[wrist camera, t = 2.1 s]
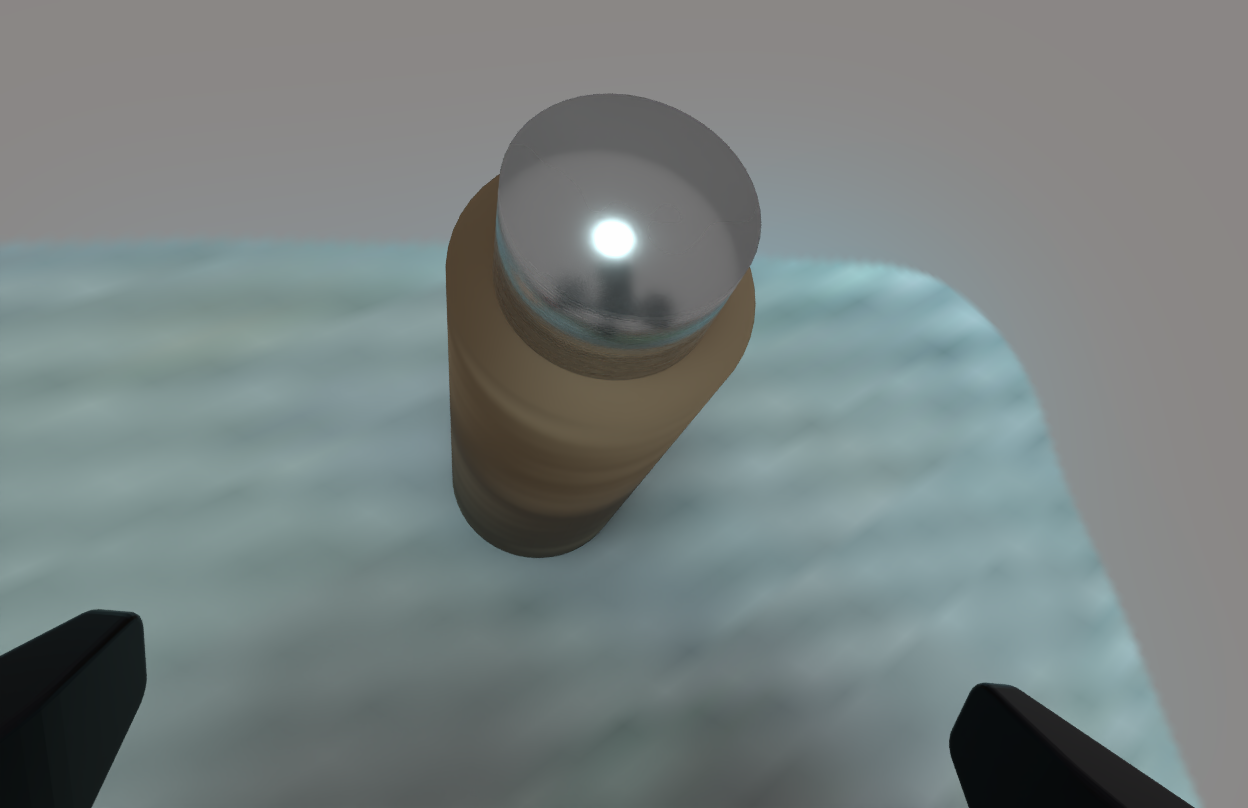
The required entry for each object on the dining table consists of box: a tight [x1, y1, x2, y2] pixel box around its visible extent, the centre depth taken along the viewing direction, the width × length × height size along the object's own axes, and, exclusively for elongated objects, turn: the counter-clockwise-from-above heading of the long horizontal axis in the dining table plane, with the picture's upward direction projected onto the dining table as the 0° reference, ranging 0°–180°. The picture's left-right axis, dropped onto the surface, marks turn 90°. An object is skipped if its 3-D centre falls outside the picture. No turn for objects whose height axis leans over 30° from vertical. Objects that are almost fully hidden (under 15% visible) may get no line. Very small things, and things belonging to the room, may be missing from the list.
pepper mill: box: [446, 94, 761, 558], centre depth 16 cm, size 5×5×13 cm
